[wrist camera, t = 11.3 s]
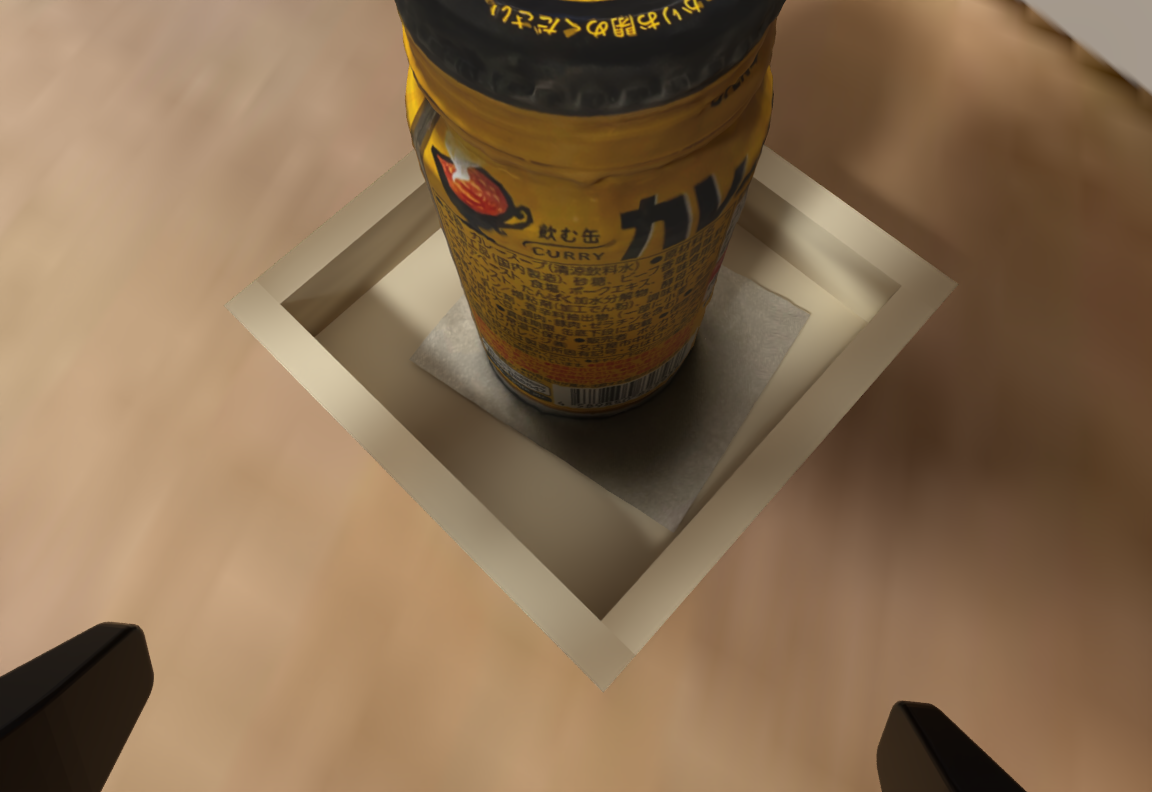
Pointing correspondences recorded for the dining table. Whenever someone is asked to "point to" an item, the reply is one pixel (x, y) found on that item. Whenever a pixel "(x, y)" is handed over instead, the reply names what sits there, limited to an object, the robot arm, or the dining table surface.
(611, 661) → the caddy
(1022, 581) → the dining table surface
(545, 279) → the condiment
